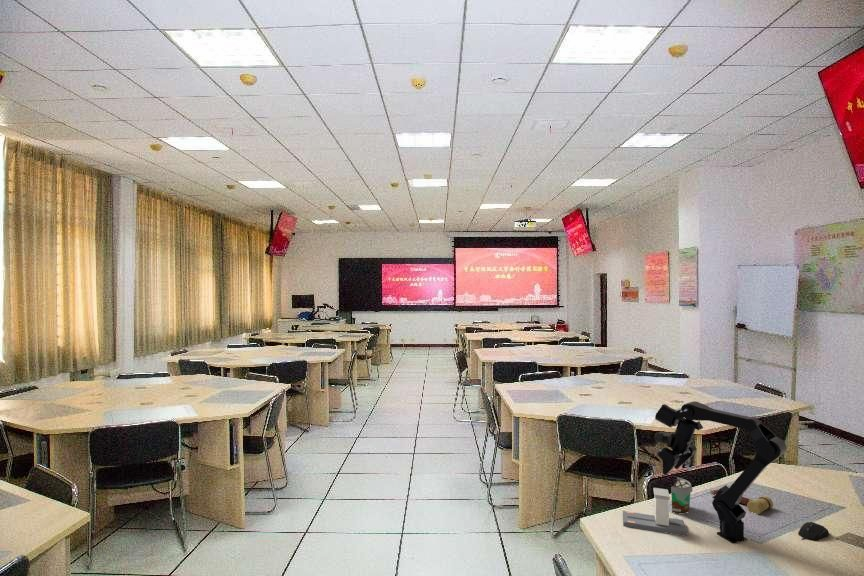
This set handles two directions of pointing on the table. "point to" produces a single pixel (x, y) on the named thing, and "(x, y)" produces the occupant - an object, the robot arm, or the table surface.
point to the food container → (681, 496)
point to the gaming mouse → (813, 531)
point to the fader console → (653, 523)
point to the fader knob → (661, 506)
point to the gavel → (755, 503)
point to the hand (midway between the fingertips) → (670, 471)
